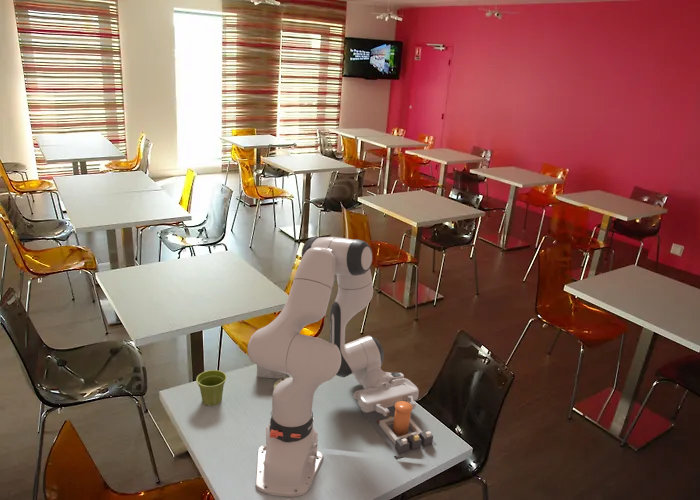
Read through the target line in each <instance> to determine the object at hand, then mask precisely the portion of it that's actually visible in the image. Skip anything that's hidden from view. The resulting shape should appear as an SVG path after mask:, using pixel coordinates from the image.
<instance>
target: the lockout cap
mask: <svg viewBox="0 0 700 500" xmlns="http://www.w3.org/2000/svg"><path fill="white" fill-rule="evenodd" d="M412 408H413V407H412V405H411V404H410V403H408V402H406V401H399V402H396V404H395V416H394V423H393V432H394V433H395V434H396V435H399V436H403V435H406V434H407V433H408V429H409V422H410V415H411V416H412V411H413V409H412Z"/></svg>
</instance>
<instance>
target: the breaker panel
mask: <svg viewBox="0 0 700 500" xmlns="http://www.w3.org/2000/svg"><path fill="white" fill-rule="evenodd" d="M387 409H388V410H389V412H390V413H389V415H388V416H384V415H383V414H381V413H379V412H376V410H375V411H371V412H368V413H366V412H364V411H362V409H360V411H361V413H362V414H363V416H364V417H365V418H366V419H367V420H368V422H369V423H370V424H371V425H372V427H373V428H374V429H375V432H376V433H378V434H379V436H380V437H381V439H382V440H383V441H384V442H385V443H386V445H387V446H388V447H389V449H390V450H391V451H392V453H393V454H394V455H393V457H394V458H395V459H396V460H401V459H403V458H404V455H408V454H411V453H414V452H418V451H421V450H423V449H427V448H430V447H433V446H436V445H437V443H436V442H435V441H434V435H433V434H432V431H429V430H425V429H423V427H422V426H421V425H420V424H419V423H418V422H417V421H416V420H415V419H414V418H413V416H412V414H411V415H410V422H409V429H408V433H407V434H406V435H403V436H399V435H396V434H395V433H394V432H393V423H394V416H395V406H391V407H387Z"/></svg>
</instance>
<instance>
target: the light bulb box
mask: <svg viewBox="0 0 700 500" xmlns="http://www.w3.org/2000/svg"><path fill="white" fill-rule="evenodd" d="M286 377H288V374H285V373H281V372H277V371H272V370H268V369H265V368H263V367H261V366H258V365H256V378H264V379H265V378H267V379H277V380H280V379H282V378H286Z"/></svg>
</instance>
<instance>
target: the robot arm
mask: <svg viewBox="0 0 700 500" xmlns="http://www.w3.org/2000/svg"><path fill="white" fill-rule="evenodd" d="M373 255H374V254H373V250H372V248H371V246H370V244H369V243H368V242H366V241H365V240H361V239H357V238H356V239H351V238H347V237H340V236H323V237H322V236H315V237H310V238H309V239H308V240H306V241H305V242H304V244H303V245H302V249H301V260H300V261H299V264H298V267H297V269H296V272H295V273H294V274H295V275H294V277H293V281H292V284H291V287H290V291H289V294H288V297H287V299H286V302H285V304H284V306H283V307H282V309H281V311H280V313H279V314H277V316H276V317H275V319H273V320H272V321H271V322H270V323H269V324H267V325H265V326H263V327H261V328H258V329H257V330H256V331H255V332H254V333H252V335H251V336H250V338H249V341H248V344H247V355H248V358H249V360H250V361H251V363H252V364H255V365H256V366H257V365H258V366H261V367H263V368H265V369H268V370H272V371H277V372H281V373H285V374H287V376H288V375H289V376H290V377H291V378H287V379H285V380H283V381H281V382H280V383H278V384H277V385H276V387H275V388H274V387H273V390H272V393H271V394H272V400H271V401H272V402H271V412H270V416H269V424H268V425H267V426H266V427H265V431H266V432H265V433H266V434H265V444H263V445H261V446H260V447H258V450H257V460H256V462H257V463H256V473H255V474H256V476H255V488H256V489H257V490H258V491H260V492H261V493H263V494H267V495H271V496H277V497H287V498H288V497H299V496H303V495H306V494H307V493H308V491H309V490H310V487H311V485H312V483H313V481H314V479H315V477H316V474H317V473H318V470H319V468H320V467H321V464H322V462H323V460H324V454H323V453H322V452H321V451H320V450H318V446H319V445H318V440H319V439H318V438H319V435H318V431H317V430H316V429H315V427H314V413H313V401H314V395H315V392H316V391H317V389H318V388H319V387H320V386H321V385H322V384H324V383H326V382H328V381H330V380H332V379H333V378H334V377H335V376H338V377H340V378H346V377H348V376H350V375H353V378H354V379H355V380H356V381H357V382H358V384H359V385H361V386H362V388H363V389H359V390H358V389H357V390H355V391H354V392H353V394H352V396H353V398H354V399H355V400H356V401H357V404H358V405H359V408H360V410H362V411H364V412H366V413H368V412H371V411H375V410H376V412H379V413H381V414H383V415H384V416H388V415H389V413H390V412H389V410H388V409H387V407H391V406H395V404H396V402H399V401H406V402H408V403H410V404H411V405H412V407H413V408H412V410H414V409H416V403H415V402H414V401H417V400H418V399H419V394H420V393H419V391H420V389H419V387H417V385H416V384H414V382H412V380H410V379H408V378H405V375H404V373H402V372H388V371H384V370H382V368H381V367H383V366H382V365H383V362H384V359H385V358H384V357H385V352H384V348H383V346H382V344H381V342H380V341H379V340H378V339H377V338H375V337H374V336H372V335H366V336H363V337H360V338H357V339H355V340H353V341H350V342H348V343H345V342H346V340H345V339H346V326H347V324H348V323H349V321H350V320H351V319H353V317H354V316H356V315H357V314H358V313H359V312H361V311H362V310H364V309H365V308H366V307H367V306H368V305H369V303H370V302H371V301H372V298H373V296H374V295H373V294H374V284H373V283H374V282H373V277H372V272H371V271H372V270H371V267H372V264H373V257H374V256H373ZM335 276H336V277H335ZM335 278H336V280H337V281H336V282H337V294H336V297H335V300H334V302H333V303H332V304H331V305H330V313H329V316H330V317H329V341H328V340H326V339H324V338H320V337H315V336H312V335H307V334H306V335H305V334H301V331H302V330H303V329H304V327H306V326H308V325H311V324H313V323H314V324H315V323H317V322H319V321H321V320H322V319H323V318H324V317H325V316H326V315H327V310H328V307H329V304H330V303H329V302H330V299H331V296H332V295H331V294H332V292H333V291H332V290H333V288H334V283H335ZM362 411H361V412H362Z"/></svg>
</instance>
